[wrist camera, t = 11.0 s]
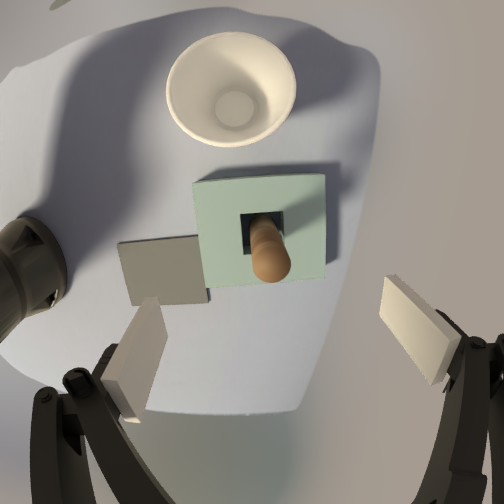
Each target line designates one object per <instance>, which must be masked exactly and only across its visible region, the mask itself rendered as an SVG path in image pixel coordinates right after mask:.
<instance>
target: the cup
mask: <svg viewBox="0 0 504 504" xmlns="http://www.w3.org/2000/svg"><path fill="white" fill-rule="evenodd" d="M296 86H297V85H296V79H295V74H294V71H293V68H292V66H291V64H290V62H289V60H288V59H287V57H286V56H285V54H284V53H283V52H282V51H281V50H280V49H279V48H278V47H277V46H275V45H274V44H272V43H271V42H269V41H268V40H266V39H264V38H261V37H259V36H257V35H254V34H249V33H245V32H222V33H217V34H213V35H210V36H207V37H205V38H203V39H201V40H199V41H197V42H195V43H193V44H192V45H191V46H189V47H188V48H187V49H186V50H185V51H184V52H183V53H182V54H181V55H180V56H179V57H178V58H177V60H176V61H175V63H174V65H173V66H172V68H171V70H170V73H169V76H168V79H167V86H166V98H167V104H168V107H169V110H170V113H171V115H172V116H173V118H174V120H175V121H176V123H177V124H178V125H179V126H180V127H181V128H182V129H183V130H184V132H186V133H187V134H189V135H190V136H192V137H193V138H194V139H197V140H199V141H201V142H203V143H205V144H209V145H214V146H218V147H238V146H245V145H248V144H252V143H255V142H258V141H260V140H262V139H263V138H265V137H267V136H269V135H270V134H272V133H273V132H274V131H275V130H277V129H278V128H279V127H280V126H281V125H282V123H283V122H284V121H285V120H286V119H287V117H288V115H289V113H290V112H291V110H292V108H293V104H294V101H295V98H296Z"/></svg>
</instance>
